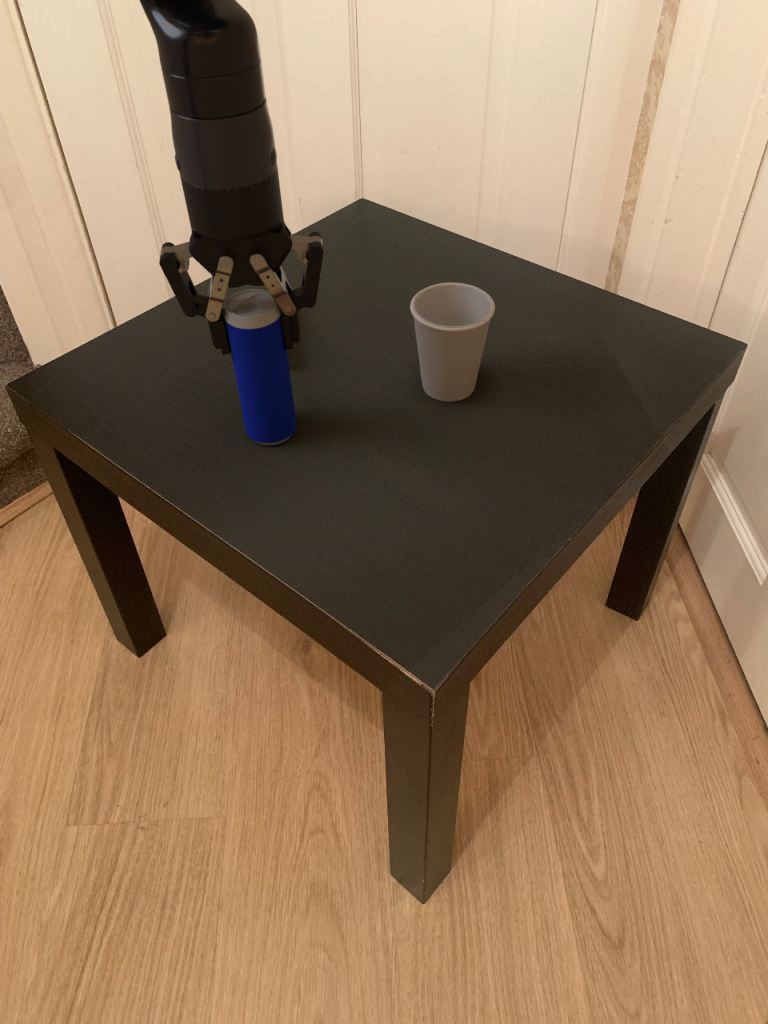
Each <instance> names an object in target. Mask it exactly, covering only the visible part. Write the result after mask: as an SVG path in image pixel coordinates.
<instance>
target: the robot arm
mask: <svg viewBox="0 0 768 1024" xmlns="http://www.w3.org/2000/svg"><path fill="white" fill-rule="evenodd" d="M139 3H140V5H141V7H142V10H143V12H144V15H145V16H146V18H147V21H148V23H149V25H150V28H151V31H152V33H153V35H154V38H155V41H156V46H157V51H158V58H159V64H160V69H161V75H162V79H163V83H164V89H165V94H166V99H167V102H168V108H169V114H170V124H171V125H170V126H171V137H172V143H173V148H174V161H175V165H176V168H177V170H178V173H179V177H180V182H181V187H182V191H183V196H184V202H185V206H186V210H187V215H188V216H187V217H188V219H189V220H188V221H189V226H190V230H191V234H190V236H189V241H187V242H183V243H179V244H174V243H173V242H170V241H166V242H164V243H163V244H162V245H161V249H160V254H159V261H158V262H159V263H158V264H159V267H160V268H161V270H162V272H163V275H164V277H165V278H166V280H167V282H168V285H169V286H170V289H171V290H172V292H173V295H174V297H175V298H176V301H177V303H178V304H179V306H180V308H181V310H182V312H183V314H184V315H185V316H186V317H188V318H195V317H197V316H199V317H203V318H205V320H206V321H207V323H208V326H209V332H210V336H211V341H212V342H211V343H212V345H213V347H214V349H215V350H221V354H222V355H231V351H230V346H229V340H228V335H227V330H226V325H225V320H224V310H225V307H223V305H224V302H225V300H226V295H227V291H228V289H236V288H240V287H243V286H244V287H245V286H254V287H262V286H264V287H265V288H266V291H268V292H269V293H270V295H271V296H272V298H275V300H276V302H277V303H278V305H279V306H280V308H281V318H282V325H283V333H284V340H285V348H286V349H287V350H294V344H298V343H299V341H300V339H301V333H300V325H299V323H300V322H299V316H298V313H299V311H301V310H302V309H305V308H306V309H312V308H314V307H315V306H316V304H317V298H318V292H319V285H320V278H321V273H322V265H323V259H324V253H325V251H324V243H323V236H322V233H320V232H318V231H311V232H310V233H309V234H308V235H300V234H292V232H291V230H290V228H289V227H288V226H287V225H286V222H285V218H284V209H283V200H282V193H281V185H280V175H279V168H278V167H279V166H278V153H277V149H276V142H275V135H274V134H275V133H274V129H273V128H274V127H273V123H272V118H271V115H270V112H269V107H268V102H267V97H266V89H265V80H264V73H263V72H264V71H263V65H262V56H261V55H262V54H261V46H260V40H259V34H258V30H257V27H256V24H255V21H254V19H253V18H252V16H251V14H250V13H249V12H248V11H247V10H246V9H245V8H244V7H243V6H242V5H241V4H240V3H239V2H238V1H237V0H139ZM291 251H294V252H295V253H296V255H297V261H298V262H299V263H300V264H303V270H302V278H301V285H300V286H299V287H297V288H294V289H293V287H292V285H291V284H290V282H289V280H288V278H287V276H286V273H285V271H284V269H283V267H282V265H283V263H284V261H286V259H287V257H288V256H289V254H290V252H291ZM191 258H193V259H194V260H195V261H196V262H197V263H198V264H199V265H200V266H201V267H202V268H203V269H204V270H206V271H207V272H208V274H210V275H211V277H210V278H211V279H210V283H209V288H208V292H207V296H206V295H204V294H203V295H202V294H199V292H198V290H197V288H196V286H195V284H194V281H193V280H192V278H191V275H190V274H189V269H190V259H191Z"/></svg>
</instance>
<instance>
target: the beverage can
mask: <svg viewBox="0 0 768 1024" xmlns="http://www.w3.org/2000/svg"><path fill="white" fill-rule="evenodd" d="M224 305H225V306H224V309H225V310H224V320H225V325H226V330H227V335H228V340H229V346H230V351H231V352H230V356H231V360H232V365H233V372H234V376H235V381H236V388H237V391H238V397H239V401H240V408H241V413H242V419H243V423H244V429H245V432H246V435H247V436H248V437H249V438H250V439H251V440H252V441H254V442H255V443H258V444H260V445H262V446H263V445H264V446H276V445H280V444H282V443H284V442H287V441H288V440H289V439H290V438H291V437H292V435H293V434H294V433H295V432H296V429H297V417H296V410H295V401H294V394H293V386H292V378H291V371H290V363H289V355H288V349H286V348H285V340H284V333H283V325H282V318H281V308H280V306H279V305H278V303H277V302H276V300H275V298H272V296H271V295H270V293H269V291H268V290H266V289H265V290H264V289H260V288H249V289H244V290H243V289H242V290H240V291H237V292H235V293H233V294H232V295H230V296H229V297H228V298H227V299H226V301H225V303H224Z"/></svg>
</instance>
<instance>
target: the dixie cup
mask: <svg viewBox="0 0 768 1024" xmlns="http://www.w3.org/2000/svg"><path fill="white" fill-rule="evenodd" d="M409 305H410V306H409V307H410V308H409V309H410V313H411V314H412V318H413V324H414V332H415V339H416V340H415V341H416V347H417V355H418V362H419V371H420V378H421V385H422V389H423V391H424V392H425V394H426V395H427V396H429V397H431V398H432V399H434V400H437V401H440V402H458V401H461V400H462V401H463V400H464V399H466V398H468V397H470V396H472V394H473V392H475V387H476V384H477V381H478V380H477V379H478V375H479V370H480V366H481V363H482V358H483V354H484V349H485V346H486V341H487V336H488V334H489V333H488V332H489V329H490V323H491V319H492V318H493V316H494V314H495V311H496V304H495V302H494V300H493V298H492V297H491V296H490V295H489V293H488V292H486V291H484V290H483V289H481V288H480V287H477V286H474V285H472V284H469V283H468V284H467V283H463V282H441V283H435V284H432V285H429V286H427V287H425V288H422V289H421V290H419V291H418V292H417V293H415V295H414V296H413V297H412V299H411V301H410V304H409Z"/></svg>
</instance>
